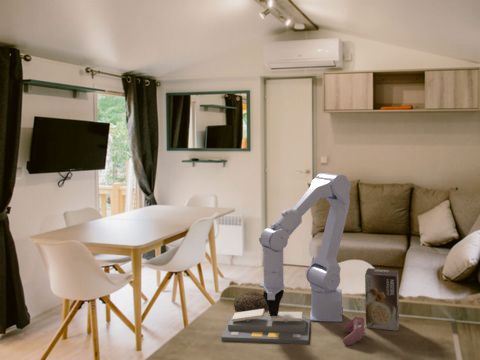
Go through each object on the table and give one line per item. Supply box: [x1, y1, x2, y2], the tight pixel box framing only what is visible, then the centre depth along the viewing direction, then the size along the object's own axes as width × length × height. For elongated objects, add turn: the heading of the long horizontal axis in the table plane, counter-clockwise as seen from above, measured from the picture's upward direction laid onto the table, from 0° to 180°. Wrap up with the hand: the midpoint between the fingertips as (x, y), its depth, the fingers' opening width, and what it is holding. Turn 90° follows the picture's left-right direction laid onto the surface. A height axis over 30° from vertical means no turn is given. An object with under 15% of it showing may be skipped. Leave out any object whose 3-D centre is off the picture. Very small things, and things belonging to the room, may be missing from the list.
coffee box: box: [364, 267, 400, 331], centre depth 151 cm, size 9×6×16 cm
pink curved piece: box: [342, 315, 366, 346], centre depth 143 cm, size 10×5×7 cm, turn 169°
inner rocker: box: [270, 311, 303, 323], centre depth 151 cm, size 9×5×1 cm, turn 81°
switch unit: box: [220, 313, 311, 345], centre depth 150 cm, size 24×15×2 cm, turn 81°
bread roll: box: [233, 291, 268, 312], centre depth 171 cm, size 13×12×5 cm
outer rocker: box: [232, 309, 266, 322], centre depth 153 cm, size 9×5×1 cm, turn 80°
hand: (273, 315), depth 151 cm, fingers closed, pressing on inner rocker
